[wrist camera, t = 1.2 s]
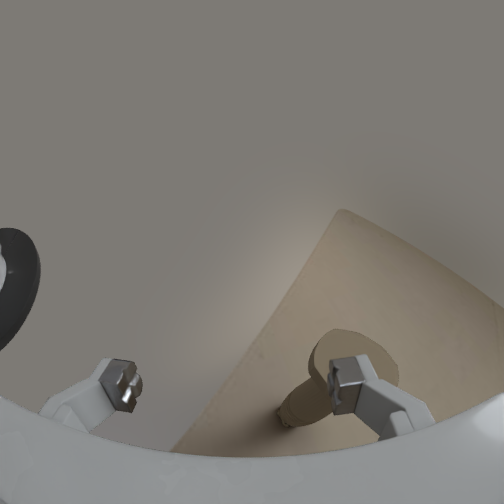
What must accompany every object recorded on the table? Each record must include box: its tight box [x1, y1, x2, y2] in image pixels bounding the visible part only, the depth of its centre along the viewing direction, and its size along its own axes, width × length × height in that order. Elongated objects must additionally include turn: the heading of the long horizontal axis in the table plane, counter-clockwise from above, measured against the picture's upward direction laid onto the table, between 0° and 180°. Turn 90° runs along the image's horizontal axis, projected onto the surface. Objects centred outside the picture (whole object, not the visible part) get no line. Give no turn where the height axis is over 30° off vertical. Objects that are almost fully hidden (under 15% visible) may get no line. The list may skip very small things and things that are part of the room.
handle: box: [277, 329, 399, 427], centre depth 20 cm, size 5×6×15 cm
